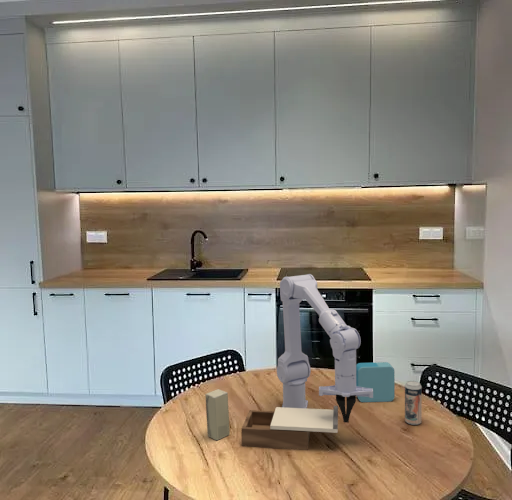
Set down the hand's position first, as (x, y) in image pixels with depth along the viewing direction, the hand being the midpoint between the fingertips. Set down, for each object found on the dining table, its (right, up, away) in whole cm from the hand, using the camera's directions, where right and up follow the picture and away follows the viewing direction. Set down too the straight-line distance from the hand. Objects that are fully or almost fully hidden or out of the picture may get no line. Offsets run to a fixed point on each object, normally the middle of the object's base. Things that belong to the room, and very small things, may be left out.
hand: (346, 420), depth 133 cm
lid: (-11, -1, +2) cm, 11 cm away
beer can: (+22, -4, +11) cm, 25 cm away
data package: (+15, -3, +28) cm, 32 cm away
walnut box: (-19, -6, +4) cm, 20 cm away
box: (-36, -7, +6) cm, 37 cm away
